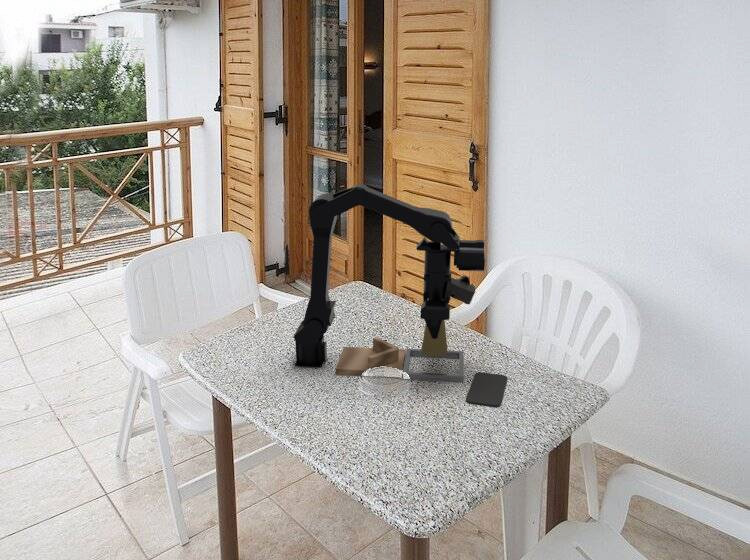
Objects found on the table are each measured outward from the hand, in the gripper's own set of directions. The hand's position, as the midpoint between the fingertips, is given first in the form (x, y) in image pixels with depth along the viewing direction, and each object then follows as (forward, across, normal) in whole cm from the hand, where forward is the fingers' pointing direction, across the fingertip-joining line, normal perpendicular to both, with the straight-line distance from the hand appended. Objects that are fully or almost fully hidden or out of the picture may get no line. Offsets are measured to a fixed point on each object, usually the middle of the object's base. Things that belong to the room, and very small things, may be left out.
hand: (435, 334), depth 164 cm
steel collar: (+8, 0, 0) cm, 8 cm away
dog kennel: (+8, 0, +16) cm, 18 cm away
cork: (+4, 0, 0) cm, 4 cm away
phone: (+9, -10, -12) cm, 18 cm away
